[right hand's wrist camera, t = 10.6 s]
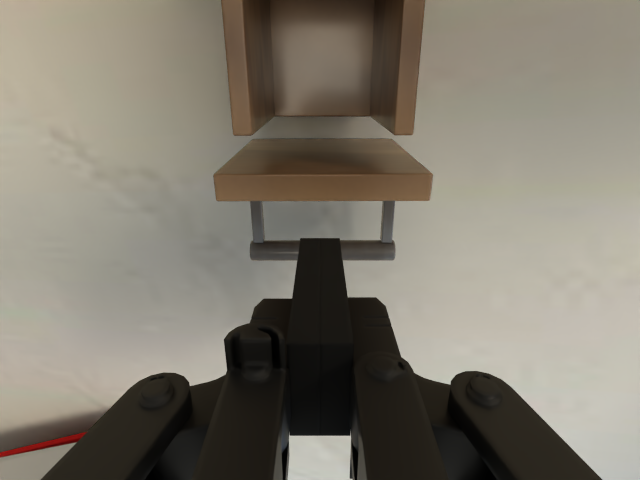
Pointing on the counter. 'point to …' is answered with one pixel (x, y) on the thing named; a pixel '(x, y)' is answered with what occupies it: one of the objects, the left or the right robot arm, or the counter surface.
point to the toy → (35, 458)
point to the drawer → (323, 109)
